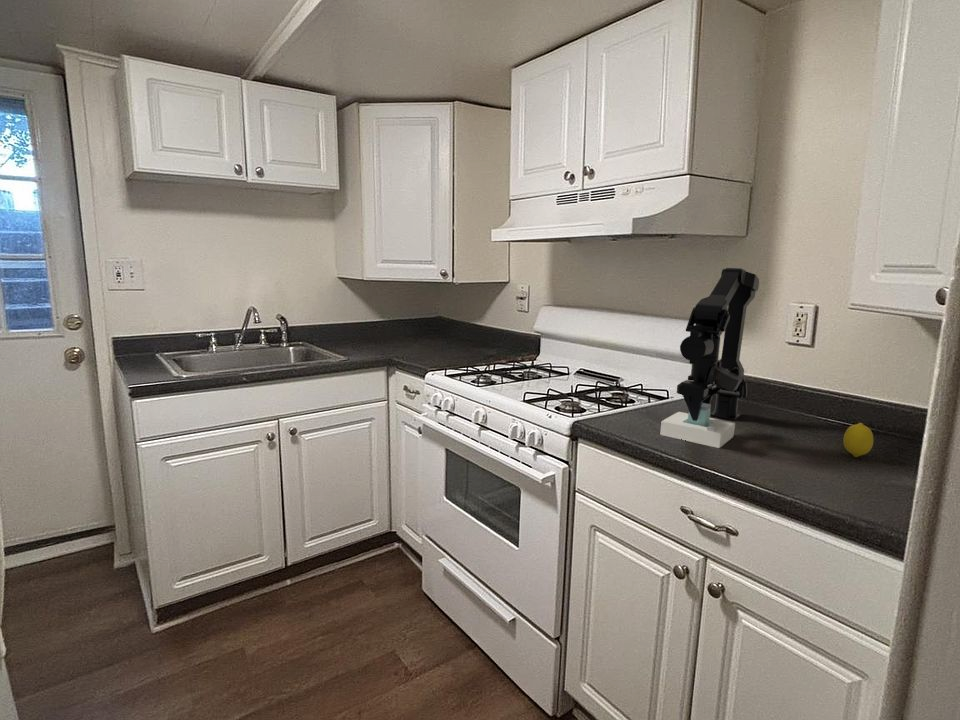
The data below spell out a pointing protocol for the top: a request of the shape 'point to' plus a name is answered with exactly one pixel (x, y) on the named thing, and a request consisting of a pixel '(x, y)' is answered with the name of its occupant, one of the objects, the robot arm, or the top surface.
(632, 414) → the top surface
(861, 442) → the lemon
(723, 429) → the socket plate
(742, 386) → the robot arm
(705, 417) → the plug
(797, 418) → the top surface
